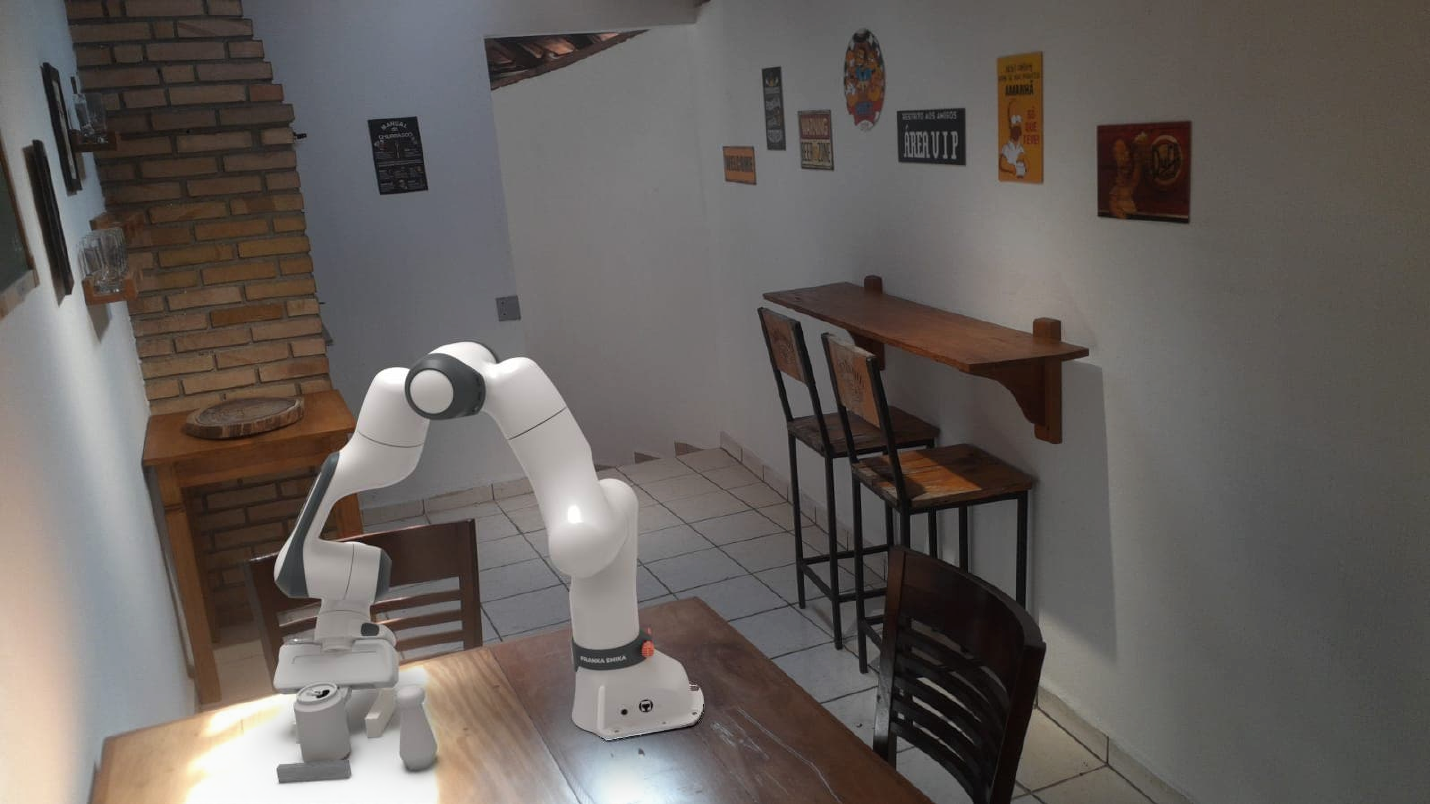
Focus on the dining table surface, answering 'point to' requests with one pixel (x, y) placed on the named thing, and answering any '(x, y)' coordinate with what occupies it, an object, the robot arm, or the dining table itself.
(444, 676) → the dining table surface
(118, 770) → the dining table surface
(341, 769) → the end bar
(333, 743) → the can
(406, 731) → the salt shaker
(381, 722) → the chute
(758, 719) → the dining table surface
